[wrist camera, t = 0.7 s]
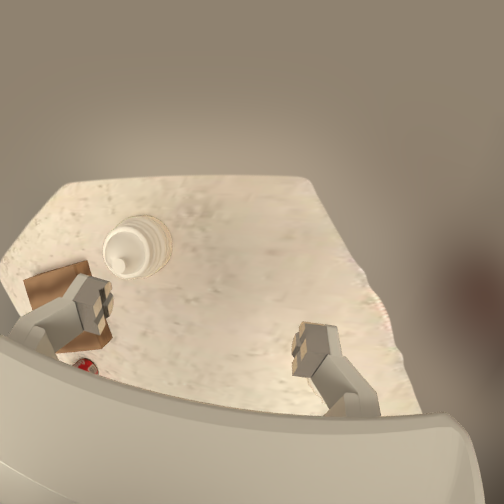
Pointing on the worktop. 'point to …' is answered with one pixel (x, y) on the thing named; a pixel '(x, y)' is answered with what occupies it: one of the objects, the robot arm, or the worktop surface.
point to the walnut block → (55, 286)
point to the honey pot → (137, 247)
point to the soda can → (86, 366)
